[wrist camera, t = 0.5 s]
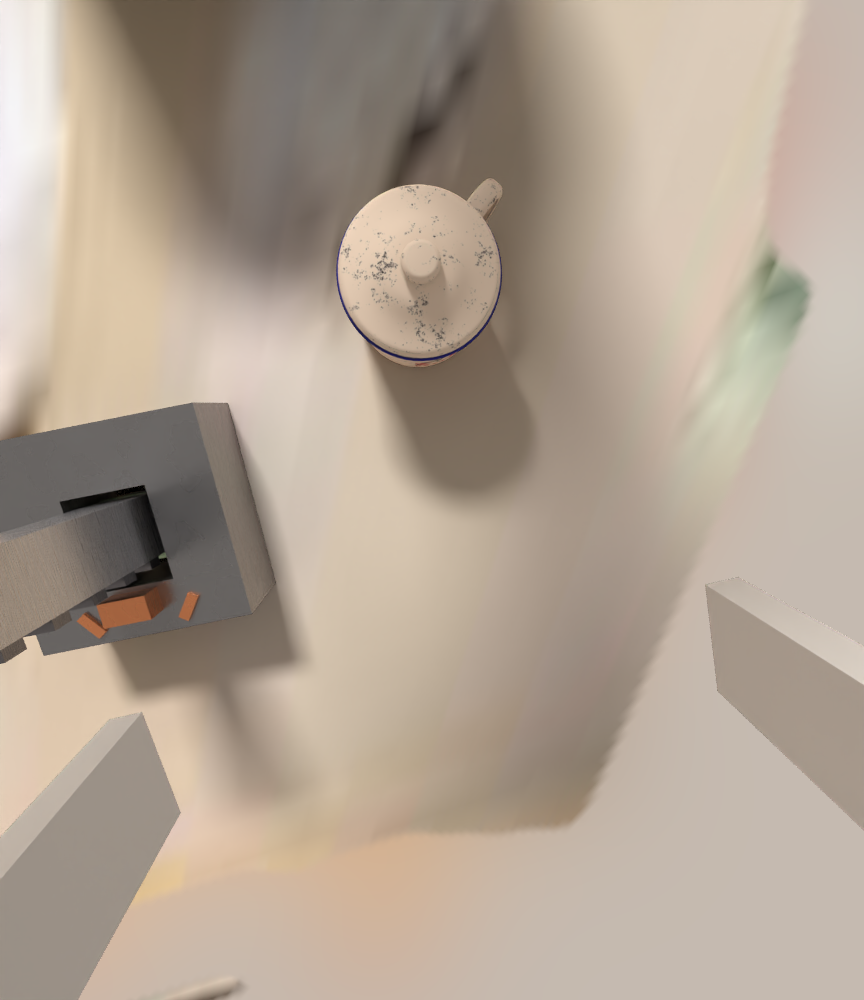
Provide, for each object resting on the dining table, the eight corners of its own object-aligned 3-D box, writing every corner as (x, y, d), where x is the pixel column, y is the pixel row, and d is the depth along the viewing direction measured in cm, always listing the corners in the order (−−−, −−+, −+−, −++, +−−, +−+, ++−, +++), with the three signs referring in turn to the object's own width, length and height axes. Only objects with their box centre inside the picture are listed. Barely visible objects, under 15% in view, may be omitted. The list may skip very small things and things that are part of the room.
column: (126, 493, 38) (-184, 590, 18) (179, 483, 38) (-72, 567, 18) (145, 553, 38) (-131, 707, 19) (197, 543, 39) (-24, 685, 19)
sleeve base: (37, 440, 37) (-58, 449, 29) (227, 403, 37) (180, 402, 29) (98, 618, 39) (25, 668, 32) (275, 582, 39) (244, 624, 32)
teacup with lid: (427, 397, 37) (435, 393, 26) (327, 315, 36) (289, 272, 24) (532, 262, 36) (590, 195, 24) (433, 172, 35) (444, 56, 23)
